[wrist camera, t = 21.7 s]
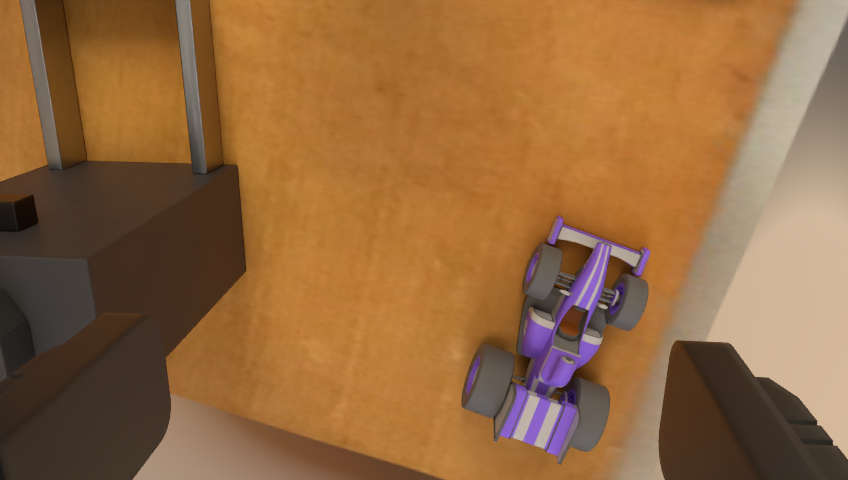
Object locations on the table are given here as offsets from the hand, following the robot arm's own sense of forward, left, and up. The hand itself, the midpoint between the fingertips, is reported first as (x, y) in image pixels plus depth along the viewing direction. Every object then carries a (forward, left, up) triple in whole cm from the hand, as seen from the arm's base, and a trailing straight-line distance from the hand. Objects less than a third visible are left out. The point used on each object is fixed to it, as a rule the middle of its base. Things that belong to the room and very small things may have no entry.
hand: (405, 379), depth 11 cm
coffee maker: (+9, -23, -36) cm, 43 cm away
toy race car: (+16, +7, -36) cm, 40 cm away
